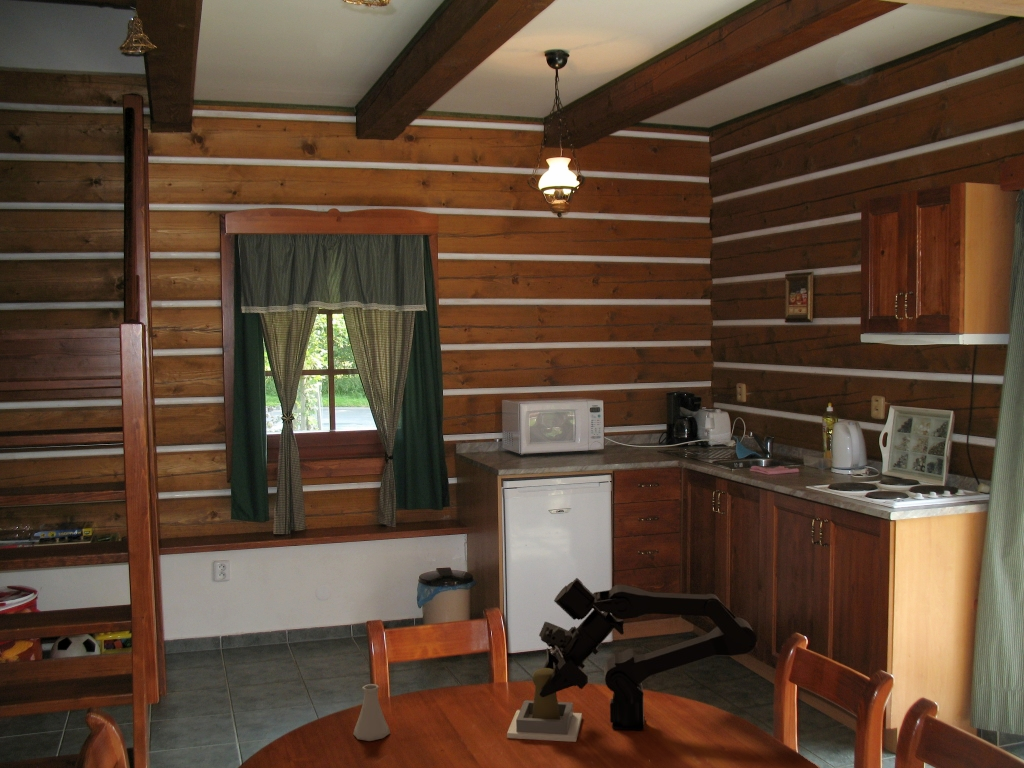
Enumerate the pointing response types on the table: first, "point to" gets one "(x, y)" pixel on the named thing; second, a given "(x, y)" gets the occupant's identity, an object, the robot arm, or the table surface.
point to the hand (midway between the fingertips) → (538, 690)
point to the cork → (544, 705)
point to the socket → (545, 724)
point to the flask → (371, 717)
